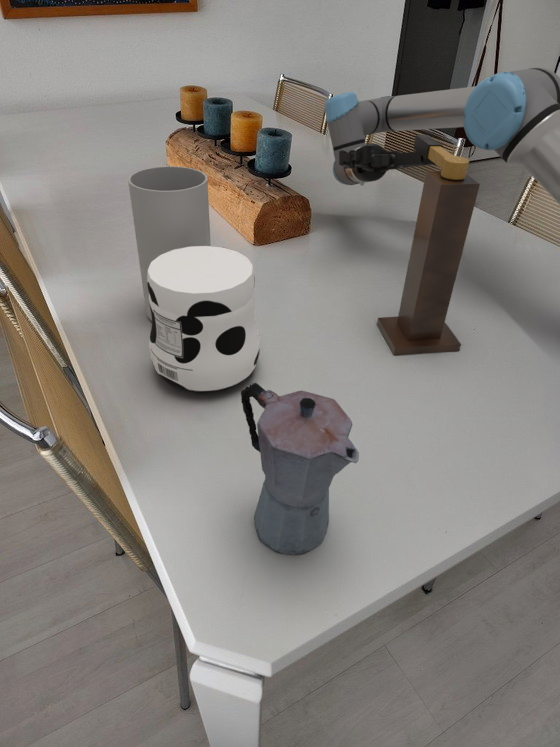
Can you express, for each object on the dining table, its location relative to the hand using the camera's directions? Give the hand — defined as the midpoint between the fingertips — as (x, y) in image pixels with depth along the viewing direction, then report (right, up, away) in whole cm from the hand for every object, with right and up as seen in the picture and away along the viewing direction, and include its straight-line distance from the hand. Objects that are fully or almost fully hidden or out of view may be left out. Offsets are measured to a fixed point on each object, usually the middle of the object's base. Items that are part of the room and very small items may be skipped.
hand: (405, 153), depth 98 cm
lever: (+2, -7, -13) cm, 14 cm away
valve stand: (+2, -33, 0) cm, 33 cm away
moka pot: (-22, -58, -33) cm, 70 cm away
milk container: (-35, -39, -9) cm, 53 cm away
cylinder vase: (-41, -28, +4) cm, 50 cm away
